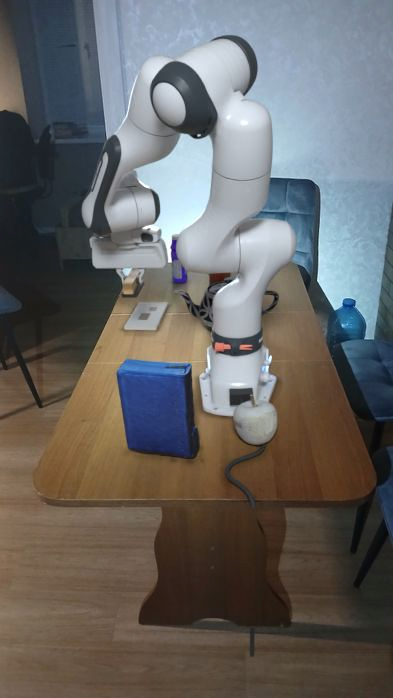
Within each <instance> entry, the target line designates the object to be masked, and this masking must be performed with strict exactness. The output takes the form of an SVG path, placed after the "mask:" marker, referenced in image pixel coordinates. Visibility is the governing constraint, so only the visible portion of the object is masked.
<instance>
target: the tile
mask: <svg viewBox="0 0 393 698" xmlns="http://www.w3.org/2000/svg"><path fill="white" fill-rule="evenodd" d="M168 307H169V301H167V302H164V301H163V302H159V301H157V302H156V301H155V302H154V301H139V302H138V303H137V305H136V307H135V309H134V310H133V312H132V313H131V315H130V316H129V318H128V320H127V321H126V323H125V325H124V326H123V329H124V331H157V330H158V328H159V326H160V324H161V322H162V320H163V317H164V316H165V313H166V311H167V310H168Z"/></svg>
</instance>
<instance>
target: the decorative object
mask: <svg viewBox="0 0 393 698" xmlns="http://www.w3.org/2000/svg"><path fill="white" fill-rule="evenodd" d="M250 399H251V401H247V402H244V403H242V404H240V405H239V406H237V407H236V408H235V410H234V415H233V416H232V420H233V425H234V429H235V431H236V433H237V435H238V436H239V437H240V439H241V440H242V441H244V442H245V443H246V444H249V445H251V446H252V445H253V446H261V444H264V443H265V444H266V443H268V442H270V441H271V440H272V439H273V437H274V436H275V433H276V432H277V428H278V423H279V422H278V411H277V409H276V407H275V406H274V405H273V404H272V403H271V402H270V401H269V402H267V401H264V400H254V396H253V395H250Z"/></svg>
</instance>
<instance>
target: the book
mask: <svg viewBox="0 0 393 698" xmlns="http://www.w3.org/2000/svg"><path fill="white" fill-rule="evenodd" d="M115 375H116V382H117V389H118V393H119V395H118V396H119V400H120V407H121V413H122V420H123V426H124V435H125V442H126V446H127V447H126V448H127V449H128V450H129V451H133V452H137V453H143V454H149V455H150V454H151V455H160V456H169V457H177V458H178V457H179V458H183V459H193V458H195V457H196V456H197V455H198V453H199V450H200V433H199V427H198V426H196V425H195V406H194V405H195V404H194V389H193V366H192V364H191V363H190V362H167V361H153V360H144V359H143V360H142V359H134V358H125V360H124V361H123V362H122V363H121V364H120V365H119V367H118V369H117V370H116V372H115Z"/></svg>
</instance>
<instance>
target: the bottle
mask: <svg viewBox="0 0 393 698" xmlns="http://www.w3.org/2000/svg"><path fill="white" fill-rule="evenodd" d="M179 234H180V233H174V234H172V235H171V244H170V246H169V247H170V248H169V249H170V259H171V273H172V275H171V279H172V281H173V282H174V283H175V284H184V283H186V282H188V271H187V270H186V269H185V268H184V267H183V266H182V265H181V263H180V262H179V260H178V257H177V253H176V243H177V239H178V236H179Z"/></svg>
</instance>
